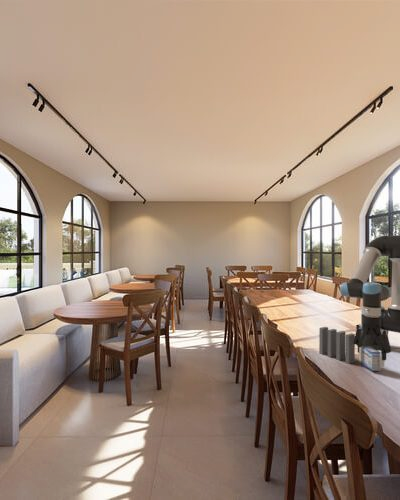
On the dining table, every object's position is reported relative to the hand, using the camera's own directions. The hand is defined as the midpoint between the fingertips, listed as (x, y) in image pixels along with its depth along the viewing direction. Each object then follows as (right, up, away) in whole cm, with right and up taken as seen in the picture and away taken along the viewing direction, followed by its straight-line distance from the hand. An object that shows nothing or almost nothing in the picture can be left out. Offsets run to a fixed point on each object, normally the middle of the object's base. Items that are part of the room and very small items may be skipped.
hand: (371, 363), depth 142 cm
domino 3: (-8, -3, +13) cm, 16 cm away
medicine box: (0, -2, 0) cm, 2 cm away
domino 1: (-14, -3, +22) cm, 26 cm away
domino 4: (-6, -3, +9) cm, 11 cm away
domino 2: (-11, -3, +17) cm, 21 cm away
